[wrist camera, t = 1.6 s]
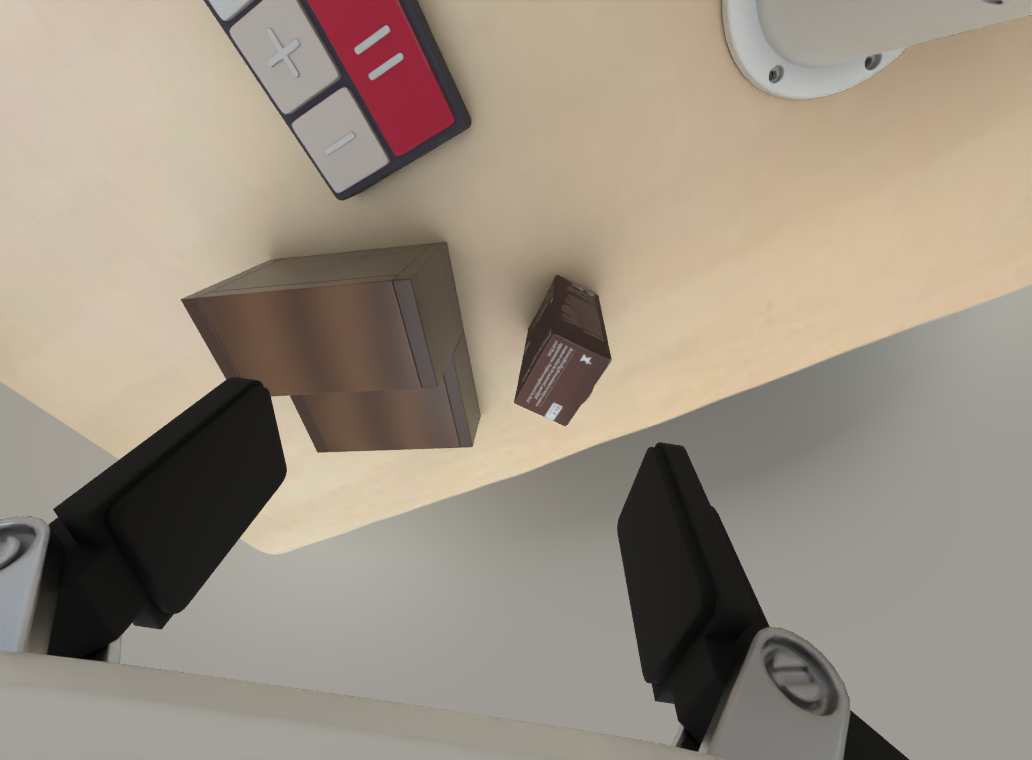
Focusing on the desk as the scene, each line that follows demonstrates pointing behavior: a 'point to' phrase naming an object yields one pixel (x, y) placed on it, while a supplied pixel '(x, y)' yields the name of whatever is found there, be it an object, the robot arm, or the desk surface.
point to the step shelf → (351, 345)
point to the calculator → (349, 81)
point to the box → (563, 352)
